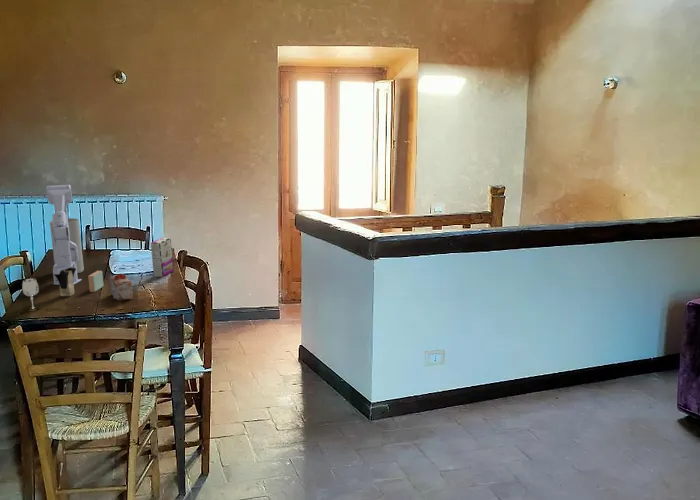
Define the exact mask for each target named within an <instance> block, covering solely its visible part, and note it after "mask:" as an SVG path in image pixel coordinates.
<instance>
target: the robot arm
mask: <svg viewBox="0 0 700 500" xmlns="http://www.w3.org/2000/svg"><path fill="white" fill-rule="evenodd" d="M45 191H46V192H45V193H46V199H47V201H48V203H49V204H50V205H52V206H53V207H54V213H53V214H52V220H53V229H52V237H51V240H52V239H53V242H54V245H55V246H54V255H53V261H54V260H55V263H56V264H55V263H54V265H53V266H52V267H53V268H52V276H53V285H57V286H58V285H59V284H60V286H61V289H66V288H67V278H68V274H69V272H64V270H72V275H73V284H74V285H76V284H78V283H79V282H81V281H82V278H78V273H77V267H76V262H78V260H79V256H78V249H77V245H76V244H75V243H73V242H71V241H70V232H69V226H68V209H67V208H68V205H70V204H71V203H72V201H73V195H72V194H73V193H72V186H71V185H70V184H60V185H59V184H57V185H47V186H46V187H45ZM60 286H59V287H60Z"/></svg>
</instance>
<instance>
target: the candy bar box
mask: <svg viewBox="0 0 700 500" xmlns="http://www.w3.org/2000/svg"><path fill="white" fill-rule="evenodd" d="M172 249H173V248H172V239H171V237H160V238H158V239H156V240H154V241H151V242H150V250H151V258H152V259H151V261H152V270H153V277H154V278H164V277H166V276H168V275H169V274H171V273H174V271H175V270H174V269H175V268H174V262H173V261H174V260H173V250H172Z"/></svg>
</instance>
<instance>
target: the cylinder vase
mask: <svg viewBox="0 0 700 500" xmlns="http://www.w3.org/2000/svg"><path fill="white" fill-rule="evenodd" d="M68 226H69V232H70V241H71V242H73V243H75V244H76V245H77V249H78V256H79V260H78V262H76V267H77V274H80V273H82V272H84V269H85V267H84V258H83V252H82V251H83V249H82V240H81V239H82V238H81V230H80V221H79V219H78V218H71V217H70V218H68ZM49 227H50V235H51V245H52V253H53V256H54V246H55V245H54V242H53V239H52V229H53V219H52V220H50V221H49ZM53 262H54V265H55V264H56V263H55V260H54V259H53Z"/></svg>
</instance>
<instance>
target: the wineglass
mask: <svg viewBox="0 0 700 500" xmlns="http://www.w3.org/2000/svg"><path fill="white" fill-rule="evenodd" d="M21 286H22V287H21V288H22V293H23V295H25V296H27V297H30V301H31V308H32V309H34V308H36V307H35V306H34V297H35V296H36V295H38V293H39V292H40V287H39V283H38V281H37V279H36V278H26V279H24V280H22V284H21Z"/></svg>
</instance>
